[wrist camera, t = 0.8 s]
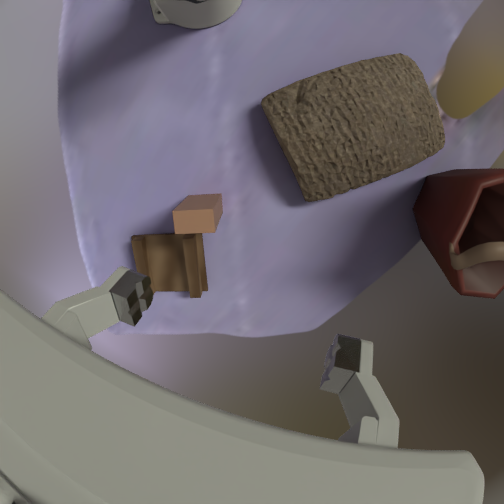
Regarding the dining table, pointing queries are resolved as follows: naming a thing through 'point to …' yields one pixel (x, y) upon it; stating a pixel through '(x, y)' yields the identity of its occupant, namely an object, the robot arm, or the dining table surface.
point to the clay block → (198, 214)
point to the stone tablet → (355, 124)
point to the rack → (172, 261)
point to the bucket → (465, 228)
